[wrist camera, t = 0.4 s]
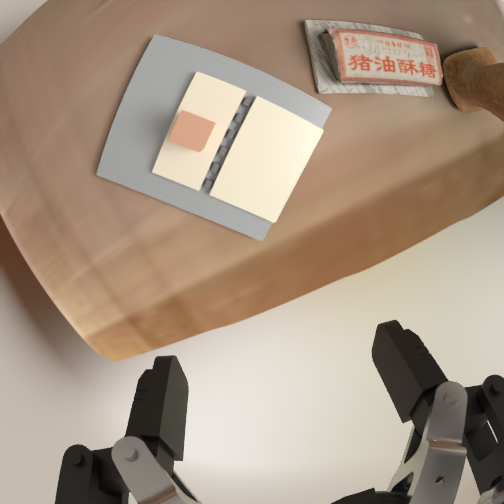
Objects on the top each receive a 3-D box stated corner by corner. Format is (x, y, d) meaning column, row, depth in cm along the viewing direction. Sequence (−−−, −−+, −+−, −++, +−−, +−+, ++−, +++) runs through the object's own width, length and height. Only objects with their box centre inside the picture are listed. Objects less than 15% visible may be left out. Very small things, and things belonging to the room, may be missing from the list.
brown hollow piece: (456, 130, 30) (531, 148, 16) (429, 57, 25) (505, 47, 11) (499, 109, 27) (561, 122, 14) (478, 47, 22) (542, 45, 9)
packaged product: (437, 30, 19) (451, 98, 24) (417, 36, 24) (429, 97, 28) (311, 9, 19) (329, 91, 24) (300, 23, 24) (315, 95, 28)
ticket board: (157, 37, 23) (152, 31, 21) (327, 109, 28) (335, 108, 26) (101, 172, 29) (92, 176, 27) (261, 237, 35) (263, 245, 33)
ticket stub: (197, 73, 24) (190, 60, 19) (246, 92, 26) (250, 83, 20) (154, 170, 29) (137, 181, 23) (200, 189, 30) (193, 203, 25)
